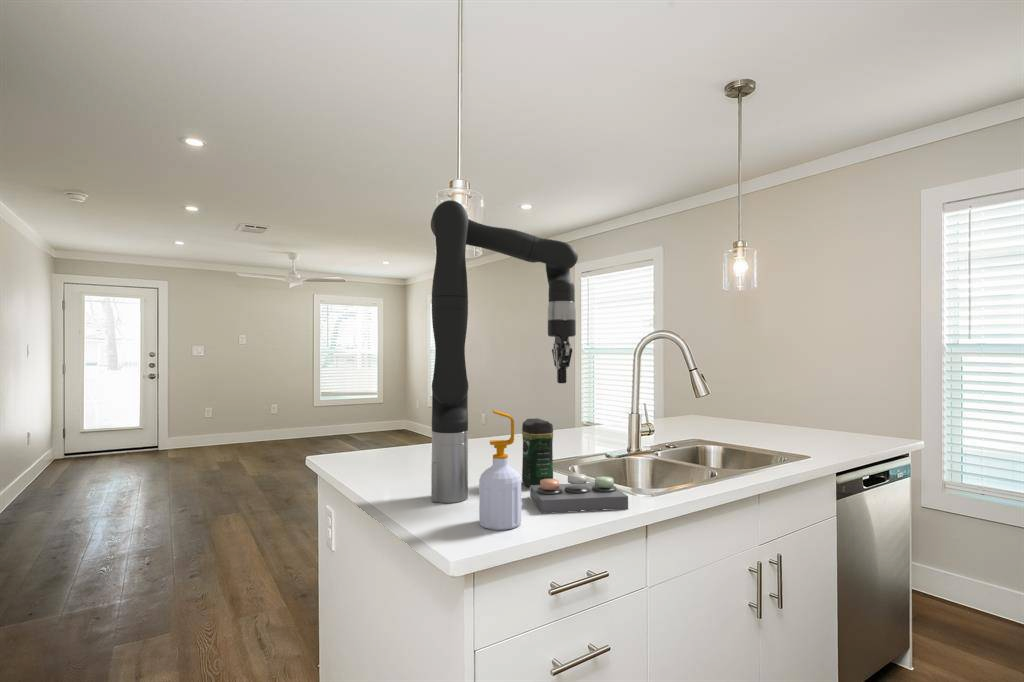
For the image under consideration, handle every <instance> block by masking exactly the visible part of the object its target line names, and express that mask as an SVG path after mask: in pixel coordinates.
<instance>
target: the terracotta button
mask: <svg viewBox="0 0 1024 682" xmlns="http://www.w3.org/2000/svg"><path fill="white" fill-rule="evenodd" d="M559 484H560V480H558V479H555V478H553V479H542V480H540V488H541V489H545V490H555V489H558V488H559Z"/></svg>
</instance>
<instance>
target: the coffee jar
mask: <svg viewBox="0 0 1024 682" xmlns="http://www.w3.org/2000/svg"><path fill="white" fill-rule="evenodd" d="M521 434H522V461H521V462H522V463H521V464H522V466H521V468H522V469H521V472H522V473H521V483H523V485H525V486H526V487H529V488H530V485H540V480H542V479H554V467H553V465H554V462H553V461H554V459H553V457H554V456H553V453H554V452H553V450H554V449H553V446H554V445H553V442H554V441H553V439H554V426H553V423H551V422H549V421H547V420H544V419H540V418H536V417H535V418H527V419H526V420H524V421H523V422H522V428H521Z"/></svg>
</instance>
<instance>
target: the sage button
mask: <svg viewBox="0 0 1024 682" xmlns="http://www.w3.org/2000/svg"><path fill="white" fill-rule="evenodd" d="M594 483H595V486H598V487H613V486H615V485H614V478H613V477H611V476H596V477H595V478H594Z"/></svg>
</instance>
